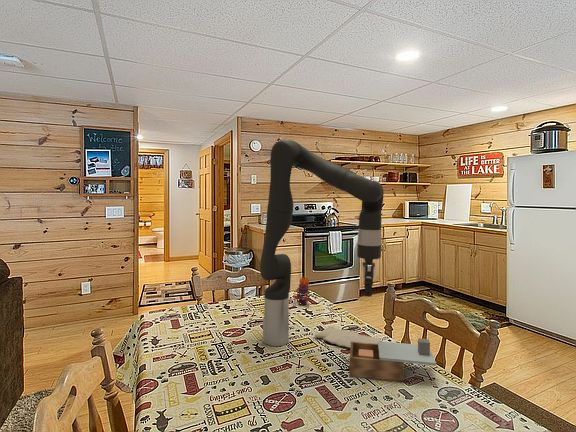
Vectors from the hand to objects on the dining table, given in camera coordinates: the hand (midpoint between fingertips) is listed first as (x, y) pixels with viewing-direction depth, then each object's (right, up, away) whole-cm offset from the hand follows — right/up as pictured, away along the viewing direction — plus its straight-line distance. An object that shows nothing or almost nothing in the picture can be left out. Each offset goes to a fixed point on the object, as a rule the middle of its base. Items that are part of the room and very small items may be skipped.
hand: (367, 292), depth 114 cm
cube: (-1, -24, -1) cm, 24 cm away
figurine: (-19, -20, +62) cm, 68 cm away
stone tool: (-3, -24, +19) cm, 30 cm away
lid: (+11, -18, -4) cm, 22 cm away
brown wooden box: (+2, -25, -2) cm, 25 cm away
